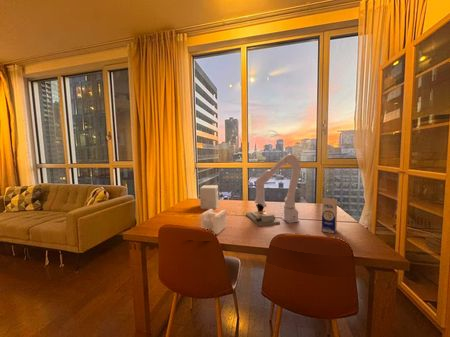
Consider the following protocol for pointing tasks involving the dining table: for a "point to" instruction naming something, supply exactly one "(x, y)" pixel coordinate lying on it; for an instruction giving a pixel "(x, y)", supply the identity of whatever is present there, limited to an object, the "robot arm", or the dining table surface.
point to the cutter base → (263, 219)
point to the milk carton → (329, 215)
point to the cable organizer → (213, 220)
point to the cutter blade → (261, 213)
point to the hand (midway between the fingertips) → (260, 214)
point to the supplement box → (209, 197)
